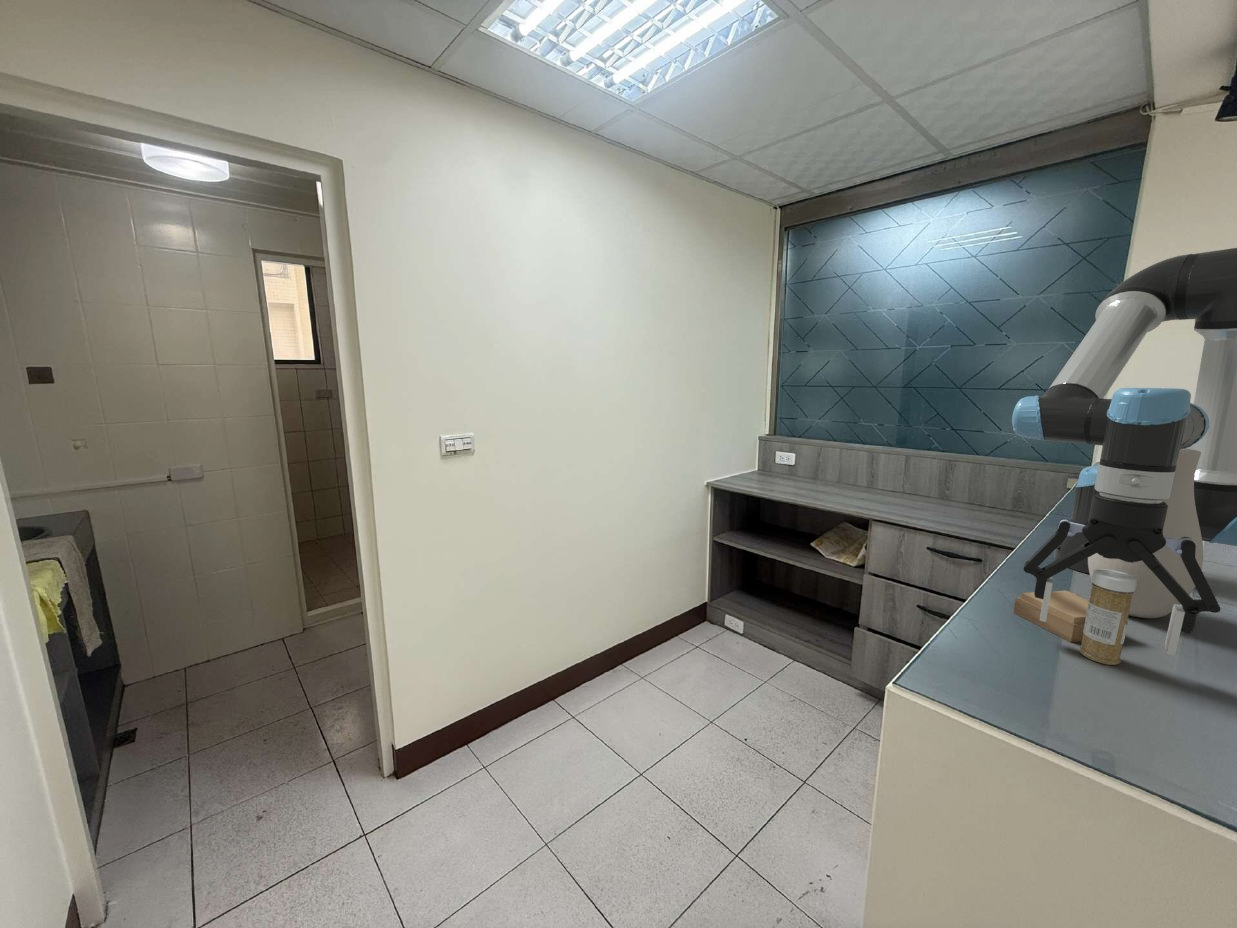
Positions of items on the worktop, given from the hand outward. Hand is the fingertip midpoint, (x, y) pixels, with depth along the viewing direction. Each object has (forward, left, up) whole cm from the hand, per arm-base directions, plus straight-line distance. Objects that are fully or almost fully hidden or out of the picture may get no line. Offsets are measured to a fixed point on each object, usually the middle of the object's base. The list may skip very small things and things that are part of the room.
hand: (1102, 633), depth 74 cm
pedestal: (-5, -9, -4) cm, 11 cm away
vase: (-22, -12, -4) cm, 25 cm away
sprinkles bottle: (0, 0, -4) cm, 4 cm away
